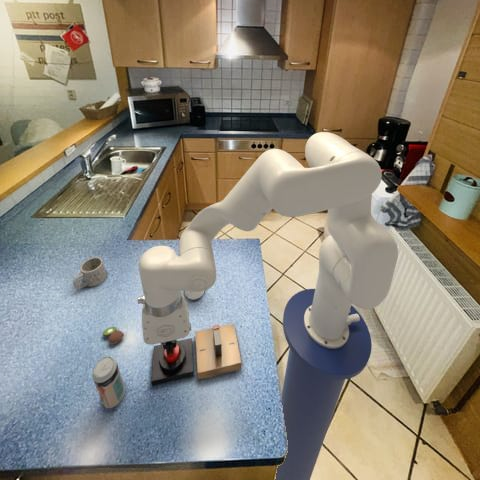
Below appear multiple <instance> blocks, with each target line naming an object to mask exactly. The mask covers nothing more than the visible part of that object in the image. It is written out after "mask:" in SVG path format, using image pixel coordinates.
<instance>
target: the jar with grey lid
mask: <svg viewBox="0 0 480 480" xmlns="http://www.w3.org/2000/svg"><path fill="white" fill-rule="evenodd" d="M120 371H121V370H120V368H119V365H118V362H117V359H116V358H115V357H113V356H104V357H102V358H101V359H99V360H98V361H97V363H96V364H95V365H94V367H93V370H92V373H91V375H92V380H93V383H94V386H95V388H96V390H97V392H98V395H99V397H100V400H101V403H102V405H103V406H104V407H105V408H107V409H111V408H114V407H116V406H117V405H119V404H120V403H121V401H122V400H123V398H124V396H125V393H126V388H125V384H124V381H123V377H122V375H121V374H122V373H121V372H120Z"/></svg>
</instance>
